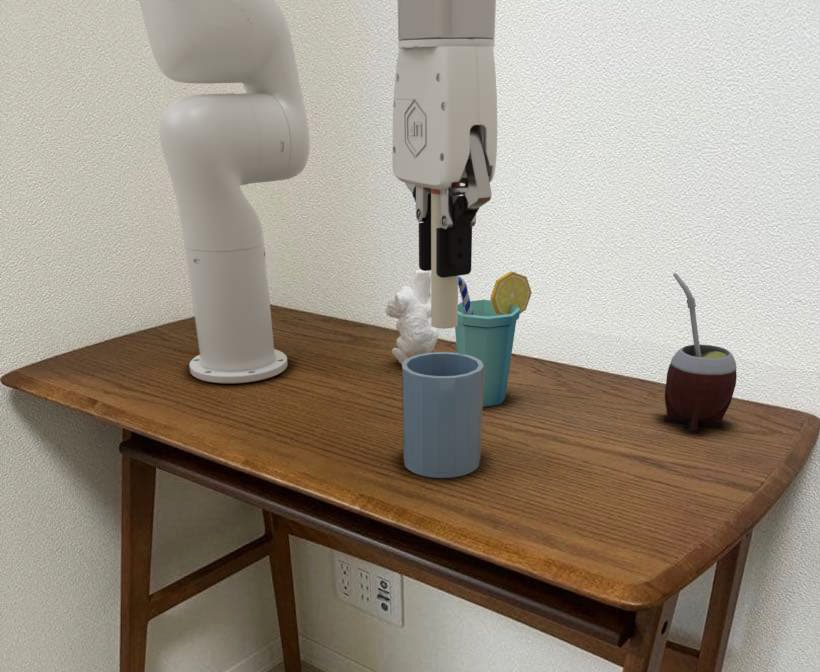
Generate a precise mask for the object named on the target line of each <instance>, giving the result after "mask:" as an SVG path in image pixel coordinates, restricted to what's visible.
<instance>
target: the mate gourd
mask: <svg viewBox="0 0 820 672" xmlns="http://www.w3.org/2000/svg"><path fill="white" fill-rule="evenodd" d="M673 278H674V279H675V280H676V282H677V283H678V285H679V286H680V288H681V289H682V290H683V292H684V295H685V296H686V299H687V300H686V304H687V309H688V311H689V317H690V326H691V333H692V334H691V335H692V340H693V344H690V345H685V346H682V347H681V348H679V350H677V351H676V353H675V354H674V355H673V356H672V358H671V360H670V363H669V366H668V368H667V372H666V381H665V386H664V387H665V388H664V402H665V408H666V414H664V415H663V421H664V422H666V423H667V422H668V423H677V424H686V425H688V433H689V434H693V435H694V434H695V435H696V434H697V433H698V428H699V426H706V427H707V426H708V427H717V428H723V427H724V425H725V421H724V420H723V418H724V417H725V415H726V414H727V411H728V409H729V407H730V405H731V403H732V400H733V396H734V394H735V389H736V385H737V362H736V359H735V356H734V355H733V354H732V352H731V351H730V350H728V349H727V348H724V347H721V346H717V345H712V344H700V339H699V338H700V337H699V329H698V322H697V315H696V306H697V305H696V304H697V303H696V299H695V297H693V294H692V292H691V289H690V288H689V287H688V285H687V284H686V282H685V281H683V279H682V278H681V277H680V275H679V274H677V272H674V273H673Z"/></svg>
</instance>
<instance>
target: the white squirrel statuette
mask: <svg viewBox="0 0 820 672" xmlns="http://www.w3.org/2000/svg"><path fill="white" fill-rule="evenodd" d="M412 286H413V287H411V286H410V285H404V286H402V287H401V289H400V290H399V291H398V292H396V293H395V294H393V295H392V296H391V297H390V298H389V299H388V302H387V305H386V307H385V309H384V313H385V315H386V316H387V317H388V316H389V317H390V318H395V319H398V320H397V322H396V326H395V328H396V330H397V331H398V333H399V336H398V337H397V338H396V340H395V343H396V346H397V347H393V348H392V350H391V354H392V355H393V356H394V357H395V358H396V359H397V360H398V363H399V364H401V365H402V363H403V362H404V361H405V360H406V359H407V358H410V357H413V356H415V355H419V354H425V353H433V350H434V349H435V347H436V344H437V342H438V339H439V330H438V328H435V327H433V326H432V325H431V322H430V321H429V320H428V319H431V270H429V271H423V270H421V269H418V270H417V269H416V271H415V273H414V278H413V285H412Z"/></svg>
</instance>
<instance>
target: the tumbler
mask: <svg viewBox="0 0 820 672" xmlns="http://www.w3.org/2000/svg"><path fill="white" fill-rule="evenodd" d="M483 379H484V365H483V363H482V361H481V360H479V359H477V358H475V357H473V356H470V355H465V354H461V353H457V352H452V351H451V352H450V351H437V352H435V351H434V352H433V351H432V352H431V353H425V354H419V355H415V356H413V357H410V358H407V359H406V360H405V361H404V362H403V363H402V364H401V407H402V408H401V409H402V411H401V414H402V456H403V465H404V467H405V468H406V469H407V470H408V471H409V472H412V473H413V474H416V475H419V476H422V477H427V478H434V479H452V478H457V477H463V476H466V475H468V474H470V473H473V472H474V471H476V470H477V469H478V468H479V466H480V464H481V455H482V434H483V433H482V432H483V431H482V430H483V429H482V428H483V408H484V407H483Z"/></svg>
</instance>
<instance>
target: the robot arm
mask: <svg viewBox="0 0 820 672" xmlns="http://www.w3.org/2000/svg"><path fill="white" fill-rule="evenodd" d="M138 2H139V5H140V9H141V15H142V17H143V22H144V24H145V25H144V26H145V30H146V34H147V37H148V41H149V45H150V48H151V51H152V54H153V58H154V60H155V62H156V65H157V67H158V68H159V70H160V71H161V73H162V74H163V75H164V76H165V77H166V78H168V79H170V80H171V81H174V82H177V83H184V84H197V85H198V84H199V85H200V84H242V85H243V87H244V90H245V92H246V93H234V92H231V93H230V92H229V93H202V94H192V95H189V96H184V97H180V98H179V99H176V100H175V101H173V102H172V103H170V104H169V105H168V106H167V107H166V109H164V112H163V113H162V115H161V118H160V121H159V131H158V132H159V141H160V146H161V151H162V153H163V154H162V155H163V157H164V160H165V164H166V167H167V170H168V174H169V177H170V179H171V183H172V187H173V190H174V194H175V199H176V203H177V208H178V212H179V219H180V225H181V232H182V238H183V245H184V252H185V259H186V266H187V271H188V272H187V273H188V279H189V287H190V294H191V295H190V296H191V301H192V308H193V314H194V322H195V329H196V338H197V343H198V349H199V351H198V352H199V354H198V355H196V356H195V357H193V358H192V359H191V360H190V361H189V364H188V367H189V372H190V375H192V376H193V377H194V378H196V379H197V380H200V381H203V382H208V383H213V384H225V385H226V384H229V385H230V384H246V383H253V382H259V381H263V380H267V379H271V378H273V377H275V376H278V375H279V374H280V375H281V374H282V373H283V372H284V371H285V370H286V369H287V368H288V356H287V355H286V354H285V353H284V352H283V351H281V350H278V349H275V344H274V343H275V342H274V332H273V331H274V330H273V320H272V311H271V299H270V290H269V280H268V269H267V268H268V267H267V258H266V248H265V238H264V231H263V225H262V221H261V219H260V216H259V214H258V213H257V210H256V209H255V208H254V206H253V205H252V204H251V202H250V201H249V200H248V198H247V197H246V196H245V194H244V192H243V191H242V189H241V186H246V185H250V184H251V185H252V184H259V183H269V182H270V183H271V182H277V181H285V180H289V179H293V178H295V177H297V176H298V175H299V174H301V173H302V172H303V171H304V170H305V167H306V166H307V163H308V161H309V157H310V149H311V138H310V128H309V122H308V117H307V110H306V106H305V101H304V96H303V89H302V85H301V80H300V76H299V70H298V65H297V61H296V60H297V59H296V56H295V55H296V54H295V49H294V44H293V40H292V36H291V32H290V31H291V30H290V27H289V24H288V22H287V19H286V17H285V14H284V12H283V10H282V9H281V7H280V6H279V4H278V2H277V1H276V0H138ZM496 8H497V0H397V40H398V42H397V49H398V53H397V59H396V67H395V76H394V77H395V78H394V90H393V107H392V108H393V109H392V150H391V151H392V153H391V154H392V173H393V174H394V176H395V178H396V179H398V180H399V181H400V182H402V183H404V184H405V186H406V188H407V189H408V191H409V192H410V193H411V194H412V197H413V200H414V202H415V219H416V221H417V222H418V268H419V270H423V271H429V270H431V189H437V190H440V199H441V225H442V228H436V273H437V275H438V276H439V277H442V278H445V277H452V276H460V277H461V276H467V275H469V274H470V273H471V272H472V257H473V256H472V254H473V253H472V252H473V227H475V226H476V223H477V213H478V212H479V210H480V208H481V207H483V206H484V205H486V204H487V203H488V202H490V201H491V199H492V189H491V182H492V181H493V179H494V177H495V174H496V173H495V172H496V167H497V166H496V165H497V155H498V154H497V153H498V93H497V92H498V91H497V76H496V63H495V56H494V55H495V53H494V48H495V46H496V45H495V44H496V43H495V42H496V40H495V38H496V11H497V9H496ZM459 181H460V184H463V185H460V186H452V187H451V184H452V182H459ZM454 195H460V196H458V197H457V199H456V201H455V203H454V204H453V196H454Z"/></svg>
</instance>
